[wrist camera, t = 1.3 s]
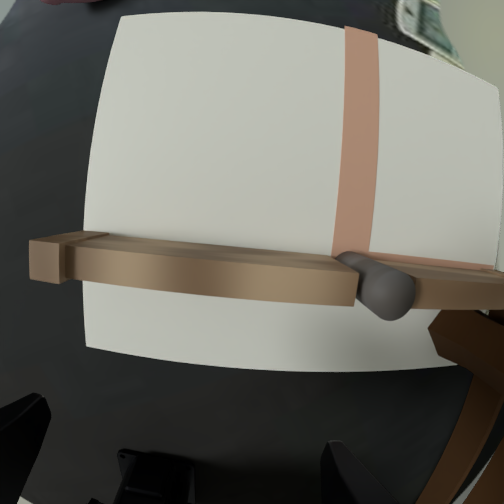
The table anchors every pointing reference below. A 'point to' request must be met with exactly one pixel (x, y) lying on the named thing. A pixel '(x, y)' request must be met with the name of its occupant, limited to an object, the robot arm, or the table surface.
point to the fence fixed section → (422, 287)
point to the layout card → (286, 181)
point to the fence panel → (193, 268)
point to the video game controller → (66, 1)
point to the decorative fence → (471, 404)
